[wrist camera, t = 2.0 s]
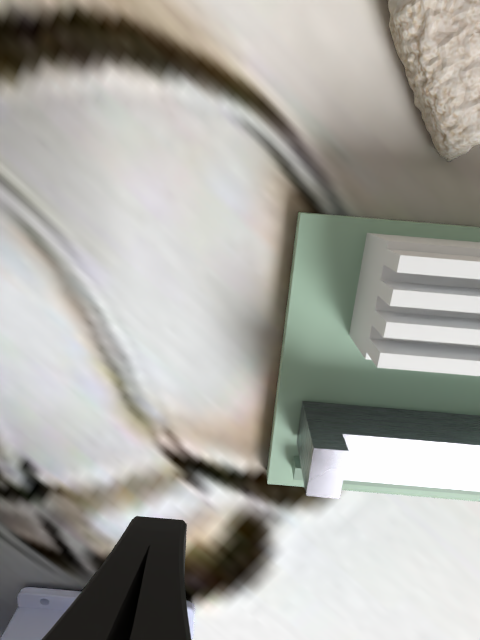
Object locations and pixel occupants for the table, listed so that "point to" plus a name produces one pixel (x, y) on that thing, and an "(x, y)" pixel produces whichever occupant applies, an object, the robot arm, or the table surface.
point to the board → (378, 329)
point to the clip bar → (386, 447)
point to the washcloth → (442, 67)
